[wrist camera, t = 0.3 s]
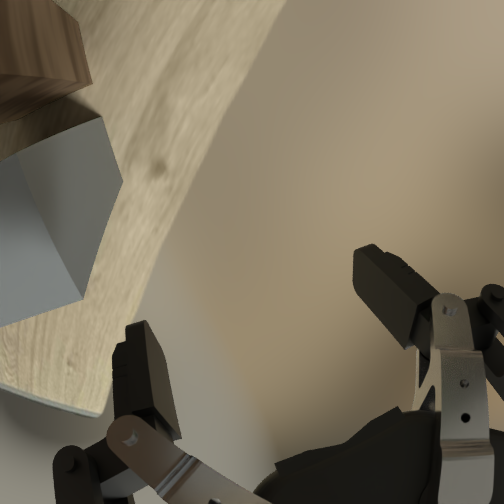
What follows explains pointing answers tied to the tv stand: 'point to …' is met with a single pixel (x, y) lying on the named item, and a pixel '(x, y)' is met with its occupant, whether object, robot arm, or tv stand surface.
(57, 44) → the tall stand
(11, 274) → the tall grey block
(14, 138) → the tv stand surface
